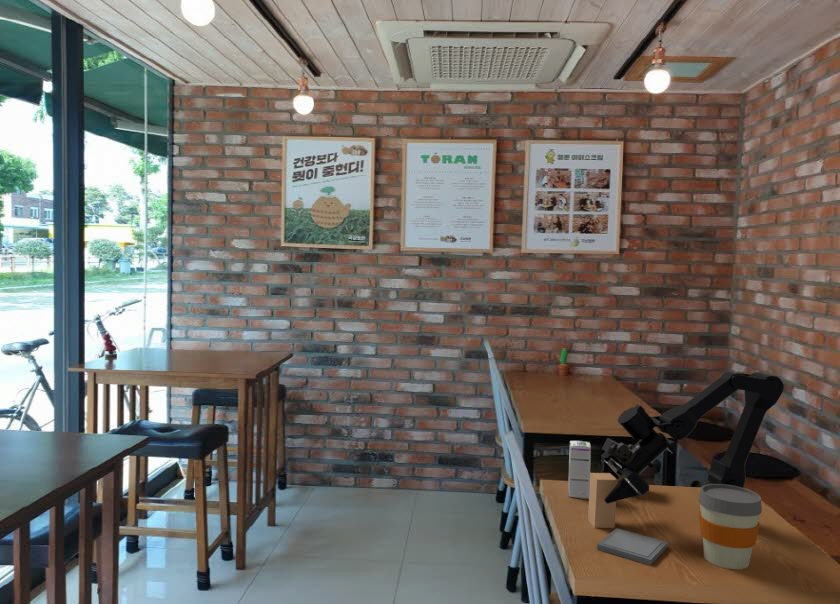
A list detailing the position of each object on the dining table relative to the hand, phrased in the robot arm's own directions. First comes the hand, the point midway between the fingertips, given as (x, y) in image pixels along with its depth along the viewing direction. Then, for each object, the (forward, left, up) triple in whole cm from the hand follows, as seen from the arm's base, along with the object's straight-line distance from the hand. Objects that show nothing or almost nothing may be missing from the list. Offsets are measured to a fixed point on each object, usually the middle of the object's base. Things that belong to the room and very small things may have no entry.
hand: (599, 495), depth 163 cm
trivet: (-12, +8, -7) cm, 16 cm away
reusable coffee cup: (-30, 0, -7) cm, 31 cm away
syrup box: (+12, -17, -7) cm, 22 cm away
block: (-1, -1, -7) cm, 7 cm away
